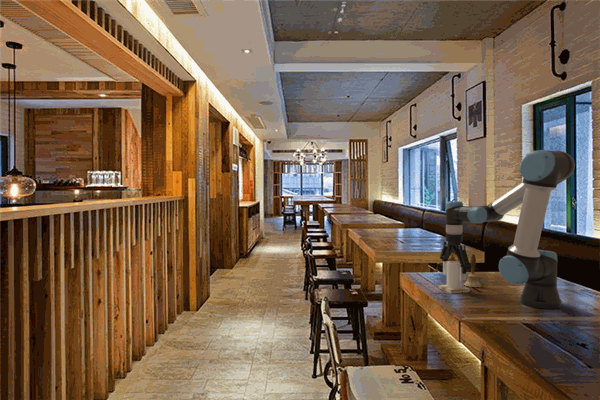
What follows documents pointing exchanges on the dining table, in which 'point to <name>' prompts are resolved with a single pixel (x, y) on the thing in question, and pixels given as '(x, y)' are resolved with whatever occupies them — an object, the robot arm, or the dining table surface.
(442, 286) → the stand
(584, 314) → the dining table surface
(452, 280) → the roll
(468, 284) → the hand bell
